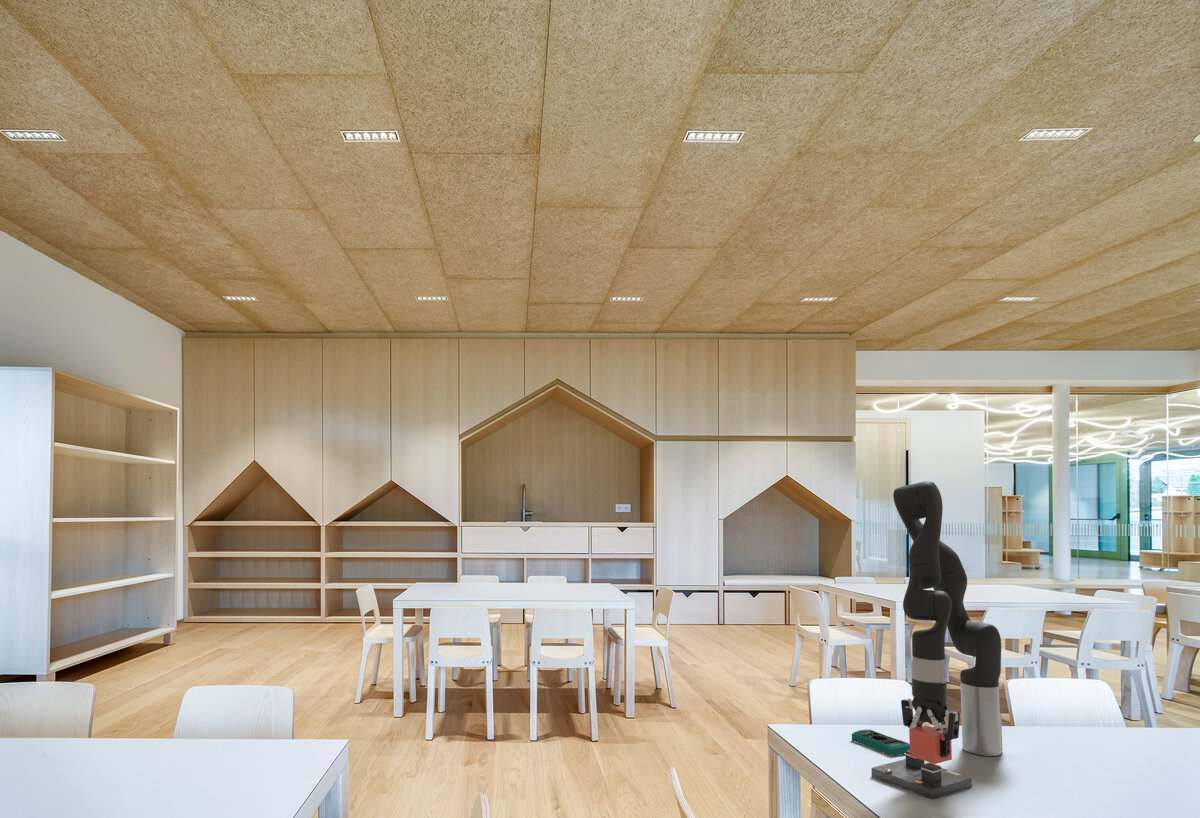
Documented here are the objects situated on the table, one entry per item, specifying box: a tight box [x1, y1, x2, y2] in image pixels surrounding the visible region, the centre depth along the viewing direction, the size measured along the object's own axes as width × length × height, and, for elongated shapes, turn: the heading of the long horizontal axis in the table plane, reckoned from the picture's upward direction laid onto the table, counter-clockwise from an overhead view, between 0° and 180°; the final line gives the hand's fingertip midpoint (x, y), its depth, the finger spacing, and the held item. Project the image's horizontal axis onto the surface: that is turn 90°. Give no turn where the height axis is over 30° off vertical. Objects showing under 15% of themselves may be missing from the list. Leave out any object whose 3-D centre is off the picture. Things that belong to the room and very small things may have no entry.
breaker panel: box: [871, 758, 973, 800], centre depth 180 cm, size 15×16×3 cm
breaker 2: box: [921, 762, 942, 783], centre depth 176 cm, size 3×3×3 cm
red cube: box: [908, 724, 953, 765], centre depth 178 cm, size 6×6×6 cm
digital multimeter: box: [851, 729, 910, 757], centre depth 206 cm, size 7×15×3 cm, turn 27°
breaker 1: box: [904, 750, 925, 768], centre depth 186 cm, size 3×3×3 cm
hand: (930, 752), depth 177 cm, fingers closed on red cube, 6 cm apart
